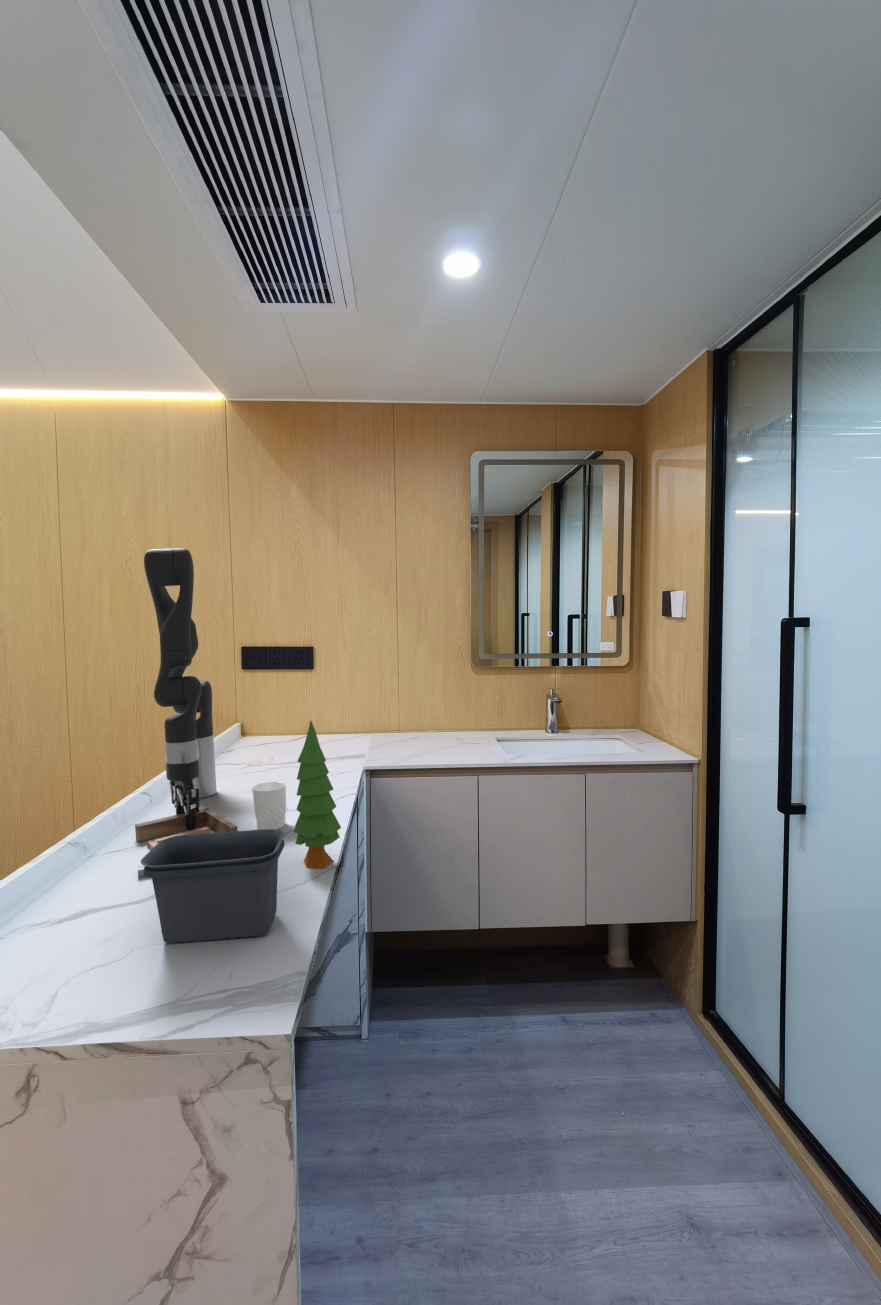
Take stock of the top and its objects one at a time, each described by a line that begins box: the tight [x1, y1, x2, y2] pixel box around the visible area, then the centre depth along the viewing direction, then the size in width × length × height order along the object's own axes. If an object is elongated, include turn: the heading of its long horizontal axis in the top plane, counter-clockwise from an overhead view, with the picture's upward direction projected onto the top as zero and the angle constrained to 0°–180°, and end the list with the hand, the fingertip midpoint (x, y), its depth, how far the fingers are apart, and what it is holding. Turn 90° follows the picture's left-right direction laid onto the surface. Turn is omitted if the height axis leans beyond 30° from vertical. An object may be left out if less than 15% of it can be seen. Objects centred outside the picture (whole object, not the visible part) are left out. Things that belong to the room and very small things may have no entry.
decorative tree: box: [293, 719, 342, 869], centre depth 130 cm, size 10×9×30 cm
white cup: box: [252, 781, 287, 830], centre depth 155 cm, size 8×8×10 cm
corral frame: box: [146, 826, 210, 850], centre depth 143 cm, size 15×14×1 cm
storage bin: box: [140, 829, 286, 944], centre depth 106 cm, size 21×16×14 cm
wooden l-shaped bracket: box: [134, 807, 238, 843], centre depth 147 cm, size 19×17×4 cm
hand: (186, 825), depth 155 cm, fingers open, 6 cm apart
